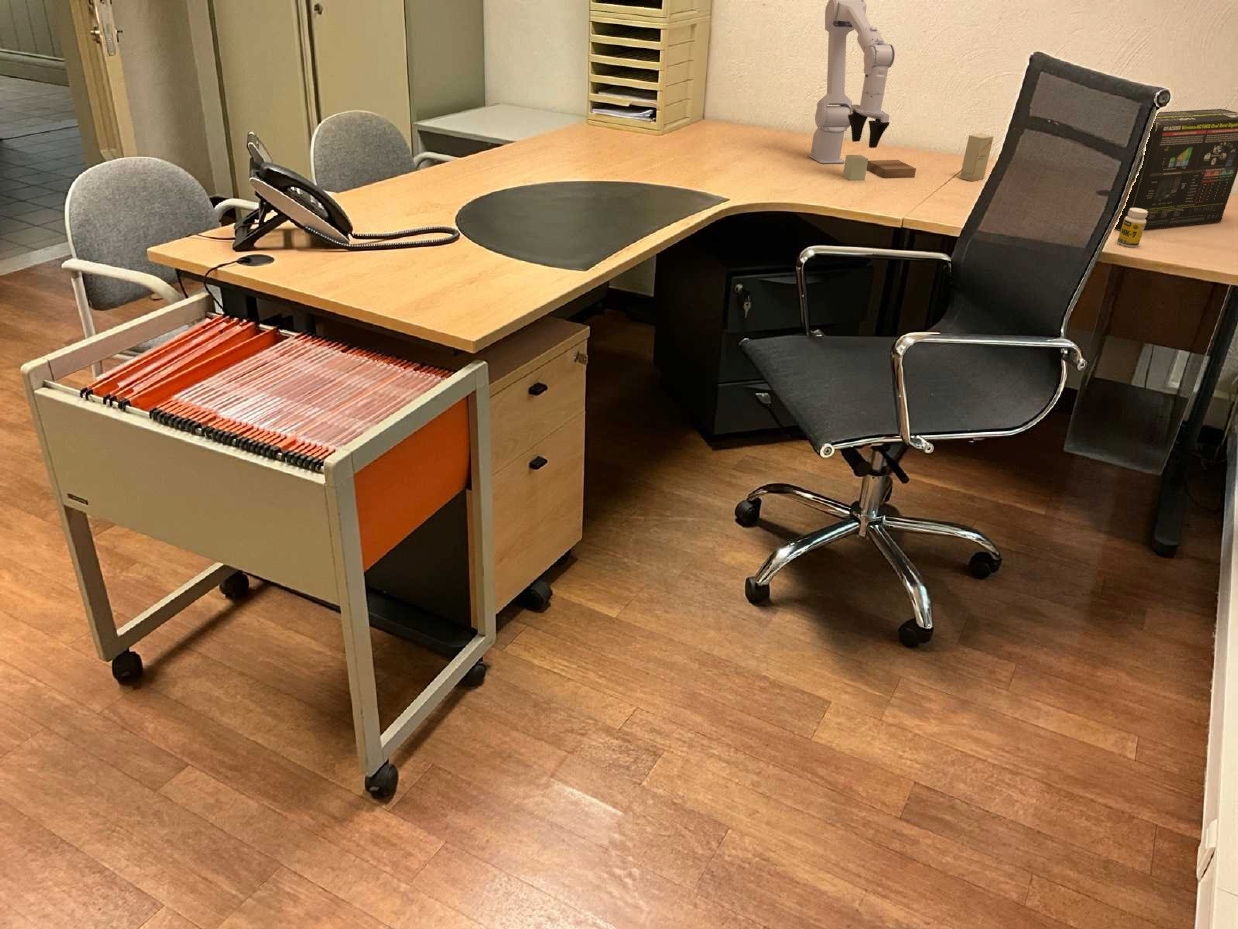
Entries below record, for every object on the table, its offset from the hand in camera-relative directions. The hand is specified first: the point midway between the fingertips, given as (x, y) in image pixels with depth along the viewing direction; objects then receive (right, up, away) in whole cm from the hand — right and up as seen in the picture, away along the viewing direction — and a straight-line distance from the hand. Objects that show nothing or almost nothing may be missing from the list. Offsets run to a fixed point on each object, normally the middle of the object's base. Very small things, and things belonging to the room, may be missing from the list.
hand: (864, 144), depth 272 cm
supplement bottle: (+54, -36, -36) cm, 74 cm away
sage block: (-2, -8, +5) cm, 10 cm away
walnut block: (+10, -5, +12) cm, 17 cm away
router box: (+71, -26, -18) cm, 78 cm away
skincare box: (+34, -6, +12) cm, 36 cm away
